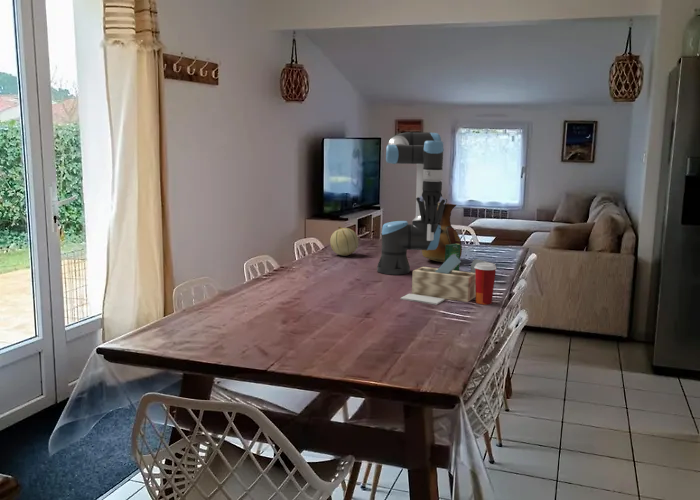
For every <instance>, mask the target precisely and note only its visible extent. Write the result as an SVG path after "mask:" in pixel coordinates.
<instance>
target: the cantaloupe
mask: <svg viewBox="0 0 700 500" xmlns="http://www.w3.org/2000/svg"><path fill="white" fill-rule="evenodd" d="M358 237H359V236H358V235H357V234H356V232H355V231H354V230H353V229H351V228H349V227H342V226H338V229H336V230H334V232H332V234H331V236H330V239H329V240H330V241H329V242H330V248H331V250H332V251H333V252H334V253H335V254H336V255H338V256H343V257H347V256H349V255H351V254H353V253H355V252H356V251H357V249H358V247H359V238H358Z"/></svg>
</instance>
